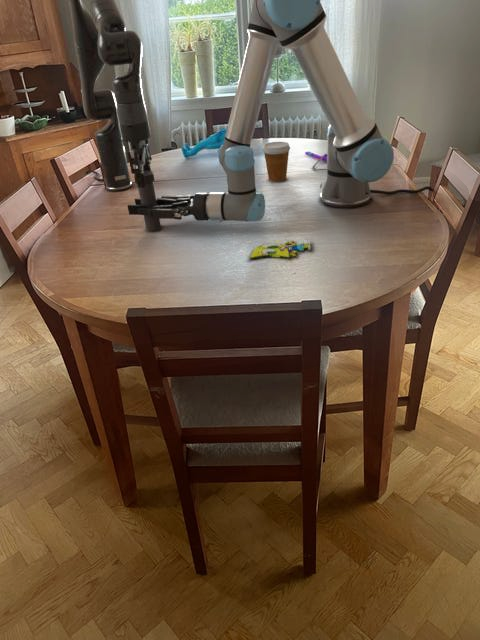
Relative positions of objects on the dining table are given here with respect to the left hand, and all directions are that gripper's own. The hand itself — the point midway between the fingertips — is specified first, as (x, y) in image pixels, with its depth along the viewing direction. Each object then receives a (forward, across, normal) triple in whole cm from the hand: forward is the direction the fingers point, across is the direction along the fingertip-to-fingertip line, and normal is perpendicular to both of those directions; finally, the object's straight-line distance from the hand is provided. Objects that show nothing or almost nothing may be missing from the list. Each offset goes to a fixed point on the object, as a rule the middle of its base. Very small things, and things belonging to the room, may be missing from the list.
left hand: (145, 182), depth 134 cm
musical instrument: (+14, -58, +54) cm, 81 cm away
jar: (+14, 0, 0) cm, 14 cm away
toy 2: (+14, +19, +37) cm, 44 cm away
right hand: (+7, -1, -5) cm, 9 cm away
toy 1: (+14, -80, +10) cm, 82 cm away
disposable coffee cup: (+14, -41, +36) cm, 57 cm away
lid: (-2, 0, 0) cm, 2 cm away
